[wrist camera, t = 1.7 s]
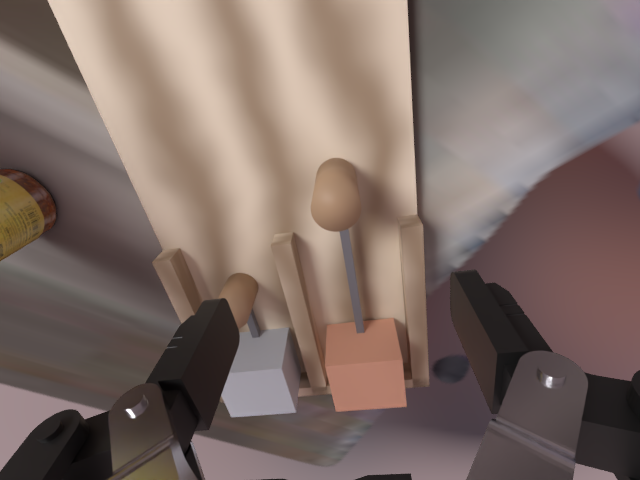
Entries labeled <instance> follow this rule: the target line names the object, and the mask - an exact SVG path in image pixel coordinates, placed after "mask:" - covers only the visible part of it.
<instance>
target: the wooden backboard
mask: <svg viewBox="0 0 640 480" xmlns="http://www.w3.org/2000/svg"><path fill="white" fill-rule="evenodd" d="M48 2H49V4H50V6H51V8H52V10H53V13H54V15H55V17H56V19H57V21H58V24H59V26H60V28H61V30H62V32H63V34H64V37H65V39H66V41H67V43H68V45H69V47H70V50H71V52H72V54H73V56H74V58H75V60H76V63H77V65H78V67H79V69H80V71H81V73H82V76H83V78H84V80H85V82H86V84H87V86H88V89H89V91H90V93H91V95H92V97H93V99H94V102H95V104H96V106H97V108H98V110H99V113H100V115H101V117H102V119H103V121H104V123H105V126H106V128H107V130H108V132H109V134H110V136H111V139H112V141H113V143H114V145H115V147H116V149H117V152H118V154H119V156H120V158H121V160H122V162H123V165H124V167H125V169H126V171H127V173H128V175H129V178H130V180H131V182H132V184H133V186H134V188H135V191H136V193H137V195H138V197H139V199H140V201H141V204H142V206H143V208H144V210H145V212H146V215H147V217H148V219H149V221H150V223H151V225H152V228H153V230H154V232H155V234H156V236H157V238H158V241H159V243H160V245H161V247H162V249H163V251H162V252H161V253H160V254H159V255H158V256H157V257H156V259H155V260H154V261H153V262H152V264H153V266H154V268H155V270H156V272H157V274H158V276H159V278H160V280H161V282H162V284H163V286H164V288H165V290H166V292H167V294H168V296H169V299H170V301H171V303H172V305H173V307H174V309H175V311H176V313H177V315H178V317H179V319H180V321H181V323H183V322H185V321H186V320H187V319H188V318H189V317H190V316H191V315H195V314H196V312H197V310H198V308H199V307H200V305H201V303H202V302H203V301H204V300H211V299H218V297H219V295H220V293H221V291H222V289H223V287H224V285H225V283H226V281H227V279H228V278H229V277H230V276H231V275H233V274H235V273H245V274H248V275H250V276H252V277H253V278H254V279H255V280H256V282H257V283H258V293H257V295H256V298H255V301H254V304H253V307H252V308H253V311H254V314H255V317H256V320H257V323H258V325H259V328H260V330H269V329H278V328H288V327H289V329H290V332H291V336H292V339H293V343H294V346H295V349H296V353H297V356H298V360H299V363H300V366H301V376H300V385H299V393H298V396H311V395H324V394H332V393H331V389H330V384H329V380H328V376H327V372H326V368H325V356H326V332H327V325H330V324H339V323H349V322H355V320H354V314H353V308H352V302H351V296H350V290H349V284H348V279H347V273H346V267H345V261H344V255H343V249H342V243H341V237H340V232H333V231H328V230H325V229H323V228H321V227H320V226H319V225H318V224H317V223H316V222H315V221H314V219H313V217H312V214H311V202H312V196H313V191H314V185H315V180H316V174H317V171H318V168H319V167H320V165H321V164H322V163H323V162H325V161H326V160H328V159H331V158H342V159H345V160H347V161H348V162H349V163H351V165H352V166H353V167H354V169H355V172H356V177H357V183H358V189H359V195H360V201H361V214H360V217H359V219H358V221H357V222H356V223H355V224H354V225H353V226H352V227H350V228H349V234H350V241H351V247H352V254H353V260H354V267H355V273H356V279H357V286H358V292H359V299H360V305H361V312H362V318H363V321H368V320H378V319H387V318H394V323H395V327H396V332H397V337H398V341H399V346H400V351H401V355H402V360H403V371H404V382H405V388H413V387H426V386H429V364H428V341H427V340H428V339H427V314H426V288H425V263H424V237H423V224H422V222H421V220H420V218H419V217H418V215H417V196H416V175H415V154H414V132H413V111H412V90H411V69H410V48H409V27H408V6H407V0H48ZM240 332H250V330H249V327H248V324H247V323H246V325H244V326H243V327H241V328H239V333H240ZM219 401H220V403H222V402H224V400H223V398H222V396H221V397H220V400H219Z"/></svg>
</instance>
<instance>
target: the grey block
mask: <svg viewBox="0 0 640 480" xmlns="http://www.w3.org/2000/svg"><path fill="white" fill-rule="evenodd" d="M257 293H258V283H257V282H256V280H255V279H254V278H253V277H252V276H250V275H248V274H245V273H235V274H233V275H231V276H230V277H229V278H228V279H227V281H226V283H225V285H224V287H223V289H222V291H221V293H220V295H219V297H218V299H219V298H225V299H226V300H227V301H228V303H229V306H230V308H231V311H232V313H233V316H234V319H235V321H236V324H237V326H238V329H239V328H241V327H243V326H244V325H246V323H247V324H248V327H249V330H250V332H240V333H239V334H240V342H239V347H238V350H237V352H236V355H235V358H234V361H233V364H232V366H231V369H230V372H229V375H228V378H227V380H226V383H225V386H224V389H223V392H222V394H221V396H222V398H223V400H224V402H225V405H226V407H227V409H228V411H229V413H230V415H231V417H242V416H256V415H270V414H284V413H296V410H297V402H298V393H299V385H300V376H301V366H300V363H299V360H298V356H297V353H296V349H295V346H294V343H293V339H292V336H291V332H290V329H289V327H288V328H278V329H269V330H260V328H259V325H258V323H257V320H256V317H255V314H254V311H253V308H252V307H253V304H254V301H255V298H256V295H257Z"/></svg>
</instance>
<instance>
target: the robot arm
mask: <svg viewBox="0 0 640 480" xmlns="http://www.w3.org/2000/svg"><path fill="white" fill-rule="evenodd" d="M450 289H451V290H450V292H451V293H450V294H451V295H450V307H451V308H450V309H451V317H452V321H453V324H454V327H455V329H456V332H457V334H458V336H459V339H460V341H461V343H462V346H463V348H464V350H465V353H466V355H467V357H468V360H469V362H470V364H471V367H472V369H473V371H474V374H475V376H476V378H477V381H478V383H479V385H480V388H481V390H482V392H483V395H484V397H485V399H486V402H487V404H488V406H489V408H490V411H491V413H492V414H498V415H497V417H496V419H495V420H494V419H492V420H491V421H490V423H489V425H488V427H487V430H486V432H485V435H484V437H483V439H482V442H481V444H480V447H479V450H478V452H477V454H476V457H475V459H474V462H473V464H472V467H471V469H470V472H469V475H468V477H467V479H466V480H573V474H574V469H575V463H578V464H582V465H585V466H589V467H593V468H597V469H600V470H604V471H608V472H612V473H614V474H615V476H616V478H617V479H618V480H640V370H639V371H638V372H636V373H635V374H634V376H633V378H632V381H625V380H619V379H614V378H608V377H602V376H596V375H591V374H588V373H585V372H583V370H582V369H581V368H580V367H579V366H578V365H577V364H576V363H574V362H573V361H571V360H570V359H568V358H566V357H564V356H562V355H560V354H557V353H553V351H552V350H551V349H550V347H549V346H548V345H547V343H546V342H545V340H544V339H543V338H542V336H541V335H540V334H539V332H538V331H537V329H536V328H535V327H534V326H533V324H532V323H531V321H530V320H529V318H528V317H527V316H526V315H525V314H524V312H523V310H522V309H521V308H520V306H518V305H517V302H516V301H515V299H514V298H513V297H512V295H511V294H510V293H509V291H507V290H505V289H504V288H502V287H501V286H499V285H498V284H496V283H488V284H485V283H484V281H483V280H482V278H481V277H480V275H479V274H478V272H477V271H476V270H467V271H458V272H452V273H451V277H450ZM239 342H240V334H239V329H238V326H237V324H236V321H235V319H234V316H233V313H232V311H231V308H230V306H229V303H228V301H227V300H226V299H225V298H219V299H211V300H204V301H203V302H202V303H201V305H200V307H199V308H198V310H197V312H196V314H195V315H191V316H190V317H189V318H188V319H187V320H186V321H185V322H183V323H182V324H181V325H180V326H179V328H178V330H177V331H176V333H175V335H174V336H173V339H172V340H171V341H170V343H169V345H168V346H167V349H166V350H165V351H164V353H163V355H162V356H161V358H160V360H159V361H158V363H157V364H156V366H155V368H154V369H153V371H152V373H151V374H150V376H149V378H148V379H147V381H146V383H145V384H141V385H138V386H136V387H134V388H132V389H130V390H129V391H127V392H126V393H125V394H123V395H122V396H121V397H120V398H119V399H118V400H117V401H116V402H115V404H114V405H113V407H112V408H111V410H110V411H107V412H104V413H102V414H99V415H96V416H93V417H91V418H88V419H85V420H84V418H83V417H82V416H81V415H80V413H79V412H78V411H76V410H64V411H61V412H59V413H56V414H54V415H53V416H51V417H50V418H48V419H46V420H45V421H43V422H42V423H41V424H40V425H38V426H37V427H36V428H35V429H34V430H33V431H32V432H31V433H30V434H29V436H28V437H27V438H26V439H25V441H24V442H23V443H22V445H21V446H20V447H19V448H18V450H17V451H16V452H15V453H14V455H13V456H12V457H11V459H10V460H9V461H8V462H7V464H6V465H5V466H4V467H3V469H2V470H1V472H0V480H205V478H204V475H203V472H202V469H201V466H200V463H199V460H198V457H197V454H196V451H195V448H194V445H193V443H192V441H191V439H192V437H193V434H194V432H195V431H202V430H209V428H210V425H211V423H212V420H213V417H214V414H215V411H216V409H217V406H218V403H219V400H220V397H221V394H222V392H223V389H224V386H225V383H226V380H227V378H228V375H229V372H230V369H231V366H232V364H233V361H234V358H235V355H236V352H237V350H238V347H239ZM263 480H286V479H263ZM356 480H412V479H411V474H390V475H367V476H364V477H362V478H358V479H356Z"/></svg>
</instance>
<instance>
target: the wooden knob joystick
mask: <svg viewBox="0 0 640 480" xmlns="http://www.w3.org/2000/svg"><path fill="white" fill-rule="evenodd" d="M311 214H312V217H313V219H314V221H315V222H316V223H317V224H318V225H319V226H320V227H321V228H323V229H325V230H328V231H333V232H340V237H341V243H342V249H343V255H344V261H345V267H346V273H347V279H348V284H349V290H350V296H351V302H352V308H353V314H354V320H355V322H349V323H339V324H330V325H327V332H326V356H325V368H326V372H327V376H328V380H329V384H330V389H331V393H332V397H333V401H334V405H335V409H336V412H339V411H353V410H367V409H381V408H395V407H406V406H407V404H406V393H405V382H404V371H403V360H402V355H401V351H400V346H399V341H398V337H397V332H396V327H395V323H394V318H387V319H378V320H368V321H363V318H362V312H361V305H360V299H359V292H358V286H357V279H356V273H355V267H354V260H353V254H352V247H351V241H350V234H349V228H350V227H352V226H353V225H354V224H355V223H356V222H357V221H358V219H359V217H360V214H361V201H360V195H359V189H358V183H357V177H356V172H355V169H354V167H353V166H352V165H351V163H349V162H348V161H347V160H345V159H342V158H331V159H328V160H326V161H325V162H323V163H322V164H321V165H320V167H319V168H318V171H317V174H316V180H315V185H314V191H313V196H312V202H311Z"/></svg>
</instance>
